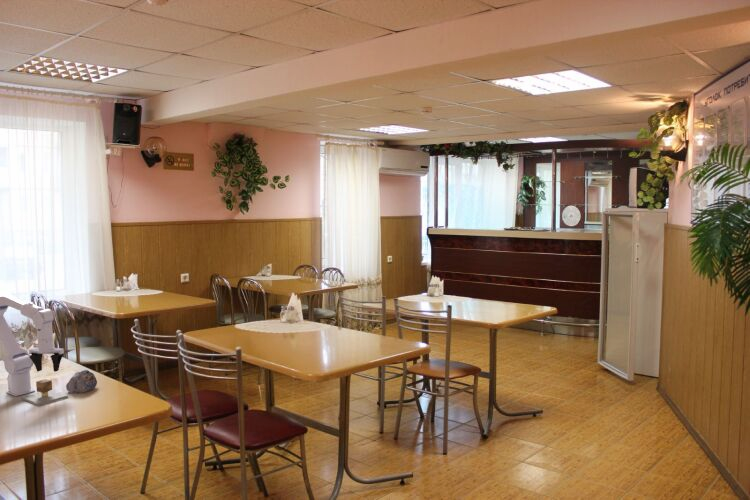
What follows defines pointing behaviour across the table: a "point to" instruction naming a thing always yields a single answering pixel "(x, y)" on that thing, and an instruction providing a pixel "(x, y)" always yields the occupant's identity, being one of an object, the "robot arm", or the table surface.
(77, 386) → the rock
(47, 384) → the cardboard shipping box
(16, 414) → the table surface
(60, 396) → the plate
